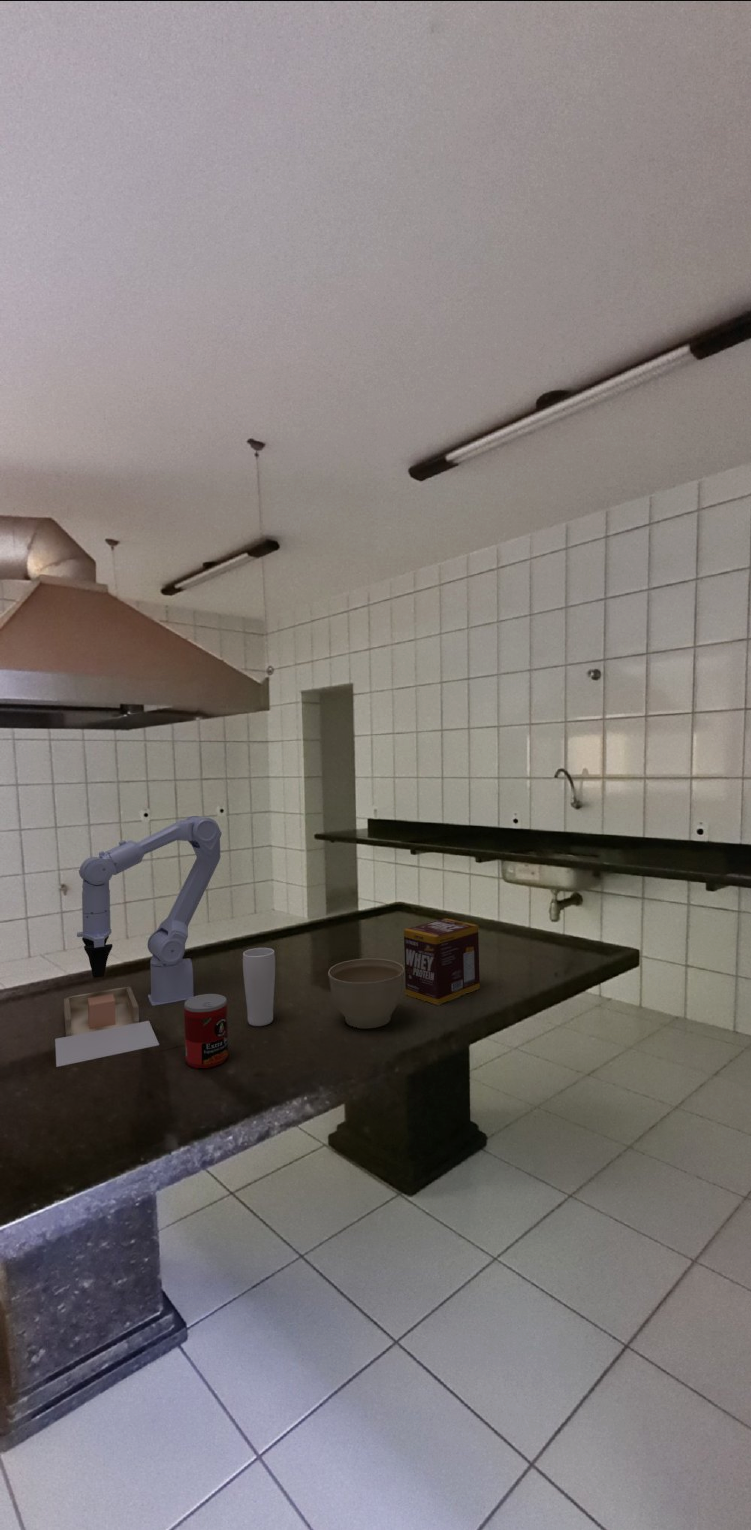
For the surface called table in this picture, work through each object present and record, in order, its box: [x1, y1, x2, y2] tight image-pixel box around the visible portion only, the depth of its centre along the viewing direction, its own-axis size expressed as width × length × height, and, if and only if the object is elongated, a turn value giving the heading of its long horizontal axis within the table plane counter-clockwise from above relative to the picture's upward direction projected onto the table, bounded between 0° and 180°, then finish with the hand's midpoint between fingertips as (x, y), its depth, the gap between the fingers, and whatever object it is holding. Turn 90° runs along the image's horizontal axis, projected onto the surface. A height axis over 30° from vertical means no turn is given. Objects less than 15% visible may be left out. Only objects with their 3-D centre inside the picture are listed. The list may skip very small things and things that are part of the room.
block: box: [88, 994, 116, 1029], centre depth 137 cm, size 5×5×5 cm
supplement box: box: [403, 918, 481, 1005], centre depth 152 cm, size 10×15×16 cm
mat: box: [54, 1020, 160, 1068], centre depth 128 cm, size 18×14×1 cm
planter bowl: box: [327, 958, 405, 1029], centre depth 136 cm, size 16×16×11 cm
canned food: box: [183, 993, 229, 1069], centre depth 120 cm, size 8×8×11 cm
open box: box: [63, 985, 140, 1037], centre depth 141 cm, size 14×15×4 cm
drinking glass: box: [242, 947, 276, 1027], centre depth 137 cm, size 7×7×15 cm
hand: (97, 972), depth 144 cm, fingers open, 7 cm apart
